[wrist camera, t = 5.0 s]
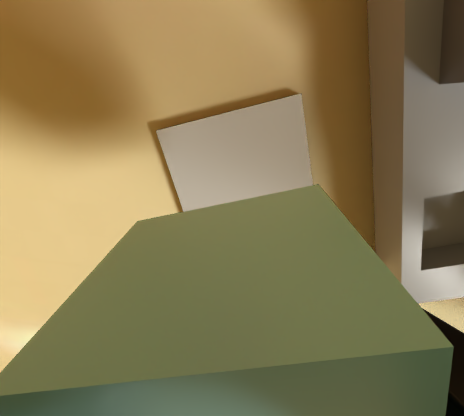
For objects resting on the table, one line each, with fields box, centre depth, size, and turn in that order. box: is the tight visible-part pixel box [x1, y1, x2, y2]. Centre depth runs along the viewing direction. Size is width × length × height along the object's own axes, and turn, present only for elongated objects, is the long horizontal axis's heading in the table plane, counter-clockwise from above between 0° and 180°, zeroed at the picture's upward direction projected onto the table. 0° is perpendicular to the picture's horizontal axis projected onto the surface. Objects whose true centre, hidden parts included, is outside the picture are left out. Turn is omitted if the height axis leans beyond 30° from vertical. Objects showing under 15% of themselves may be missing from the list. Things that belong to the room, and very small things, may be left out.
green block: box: [0, 184, 454, 416], centre depth 7 cm, size 6×6×7 cm
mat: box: [156, 94, 313, 212], centre depth 17 cm, size 10×9×1 cm
